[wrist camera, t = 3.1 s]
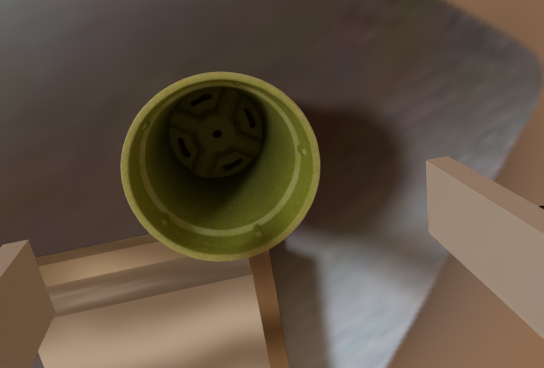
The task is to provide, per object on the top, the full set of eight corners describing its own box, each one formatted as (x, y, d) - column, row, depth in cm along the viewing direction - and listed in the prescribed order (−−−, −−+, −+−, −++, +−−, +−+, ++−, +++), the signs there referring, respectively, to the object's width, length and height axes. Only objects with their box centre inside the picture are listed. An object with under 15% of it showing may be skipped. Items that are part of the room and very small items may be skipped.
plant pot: (185, 223, 32) (183, 292, 24) (110, 99, 29) (79, 130, 21) (308, 162, 32) (348, 210, 24) (248, 30, 29) (271, 35, 21)
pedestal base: (292, 390, 38) (307, 447, 33) (91, 439, 37) (75, 507, 32) (260, 211, 33) (273, 246, 28) (22, 260, 31) (-11, 307, 26)
